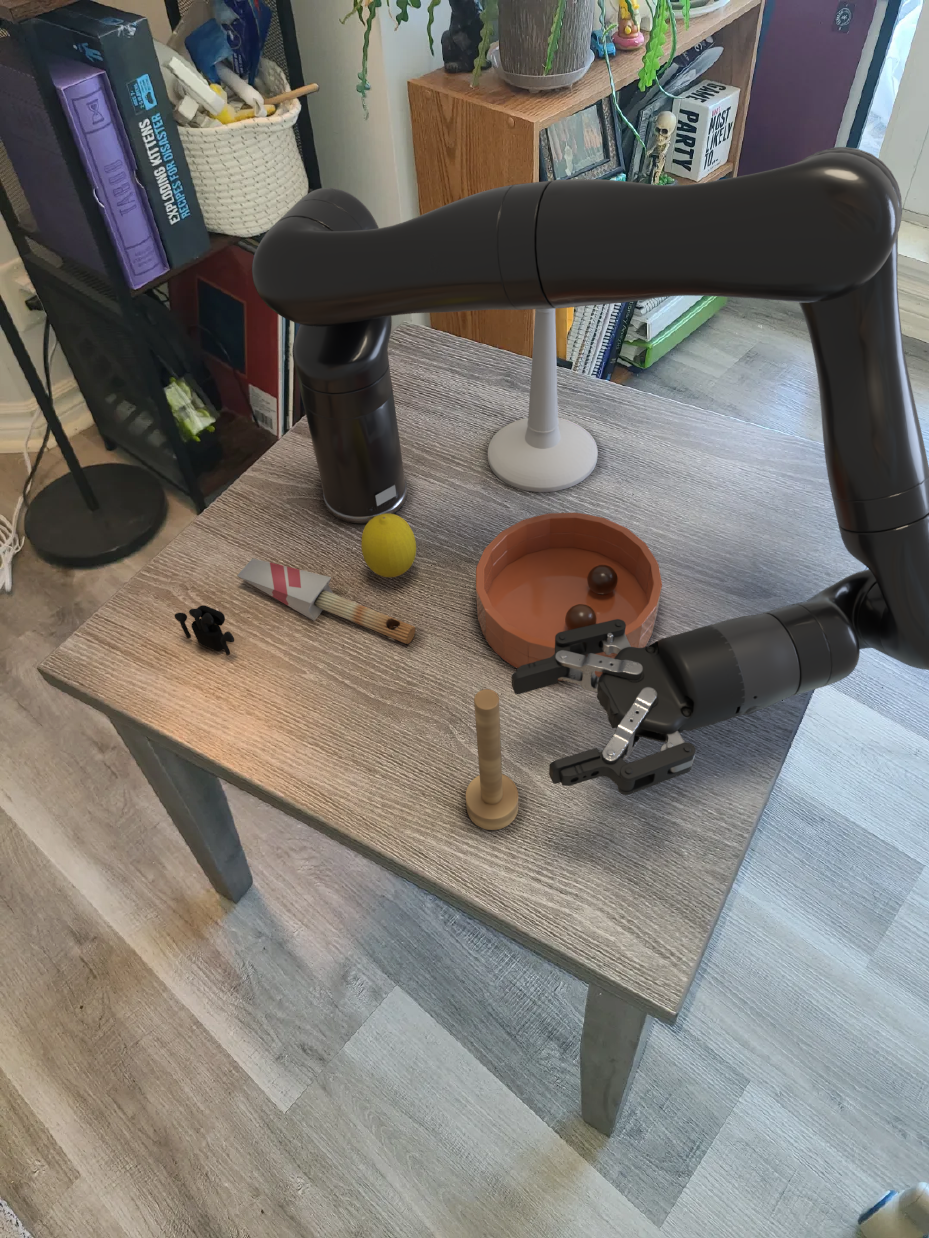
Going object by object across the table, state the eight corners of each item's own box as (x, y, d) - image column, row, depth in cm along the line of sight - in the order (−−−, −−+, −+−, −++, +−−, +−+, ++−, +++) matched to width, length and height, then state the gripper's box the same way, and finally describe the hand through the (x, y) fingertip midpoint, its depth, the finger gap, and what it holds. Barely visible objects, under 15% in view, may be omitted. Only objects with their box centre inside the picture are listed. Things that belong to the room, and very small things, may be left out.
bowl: (443, 598, 91) (440, 564, 88) (576, 523, 97) (578, 488, 94) (553, 712, 82) (554, 680, 78) (692, 621, 88) (700, 587, 84)
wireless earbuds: (181, 639, 90) (165, 606, 86) (196, 622, 91) (182, 589, 87) (237, 663, 87) (224, 630, 83) (252, 645, 89) (240, 612, 85)
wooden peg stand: (456, 801, 77) (443, 694, 64) (497, 774, 78) (492, 664, 66) (487, 840, 74) (479, 736, 62) (529, 811, 76) (530, 703, 63)
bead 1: (586, 635, 84) (605, 612, 85) (560, 616, 84) (579, 593, 85) (582, 645, 87) (600, 622, 87) (557, 626, 87) (575, 604, 88)
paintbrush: (253, 544, 93) (419, 613, 87) (258, 562, 95) (421, 631, 89) (230, 569, 91) (399, 641, 85) (235, 586, 93) (401, 658, 87)
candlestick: (619, 448, 105) (646, 190, 82) (553, 507, 99) (562, 248, 76) (532, 407, 111) (535, 156, 88) (465, 462, 105) (449, 207, 82)
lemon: (426, 560, 95) (420, 504, 89) (407, 597, 92) (399, 542, 86) (378, 549, 96) (369, 494, 90) (358, 586, 93) (347, 531, 87)
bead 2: (623, 564, 89) (624, 592, 88) (602, 573, 92) (604, 601, 91) (600, 557, 88) (601, 586, 87) (580, 567, 90) (581, 595, 89)
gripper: (689, 576, 73) (499, 628, 70) (780, 714, 64) (567, 780, 61) (677, 634, 78) (501, 684, 76) (759, 768, 69) (563, 831, 67)
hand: (531, 727), depth 68 cm, fingers open, 8 cm apart
